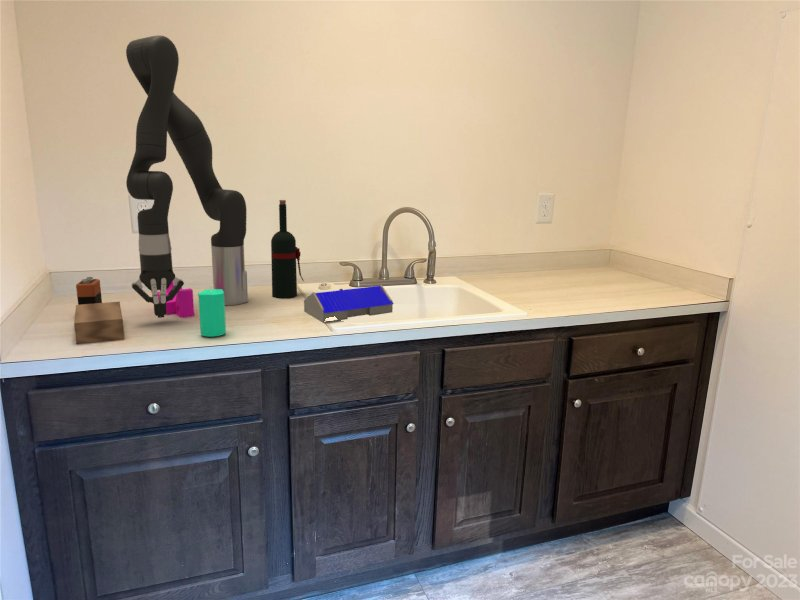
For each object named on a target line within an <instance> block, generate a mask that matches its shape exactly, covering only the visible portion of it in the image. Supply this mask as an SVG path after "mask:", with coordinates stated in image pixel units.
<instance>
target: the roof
mask: <svg viewBox="0 0 800 600" xmlns="http://www.w3.org/2000/svg"><path fill="white" fill-rule="evenodd" d="M394 304H395V303H394V301H393V299H392V298H391V297H390V295H389V293H388V292H387V290H386V289H385V287H384V285H383V284H379V285H376V286H366V287H357V288H349V289H343V288H339V289H338V290H332V291H331V290H329V291H321V292H312V293H310V295H308V296H307V297H306V298H305V299H304V300H303V308H304V309H303V311H304V313H306V314H307V315H309V316H311V317H312V318H314V319H316V320H318V321H319V322H321V323H323V324H324V321H325V319H326V318H329V317H334V316H335V317H336V318H337V319H338V320H339V321H345V320H348V319H349V318H354V317H361V316H367V315H368V316H377V315H385V314H390V313H393V308H394V307H393V305H394Z"/></svg>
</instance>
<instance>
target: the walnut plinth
mask: <svg viewBox="0 0 800 600" xmlns="http://www.w3.org/2000/svg"><path fill="white" fill-rule="evenodd" d="M73 324H74V326H73V327H74V335H75V336H74V337H75V341H76V343H75V344H76V345H81V344H82V345H83V344H91V343H99V342H100V343H101V342H109V341H120V340H125V330H124V319H123V314H122V308H121V302H120V301H109V302H108V301H107V302H102V303H94V304H82V305H78V304H75V312H74V320H73Z"/></svg>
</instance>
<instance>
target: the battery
mask: <svg viewBox="0 0 800 600" xmlns="http://www.w3.org/2000/svg"><path fill="white" fill-rule="evenodd" d="M75 288H76V297H77V305H82V304H94V303H103V300H102V299H103V298H102V290H101V289H102V287H101V280H100V279H99V278H94V276H87V277H86V278H83V279H81V280H80V281H79V282H78V283H76V285H75Z"/></svg>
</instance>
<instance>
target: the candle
mask: <svg viewBox="0 0 800 600" xmlns="http://www.w3.org/2000/svg"><path fill="white" fill-rule="evenodd" d="M197 295H198V312H199V326H200V328H199V329H200V334H201V336H202V337H203V336H204V337H219V336H223V335H225V334H226V333H227V327H226V326H227V325H226V308H225V307H226V305H225V302H224V291H223V290H222V289H214V288H210V289H203V290H201V291H200V292H198V294H197Z"/></svg>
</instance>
